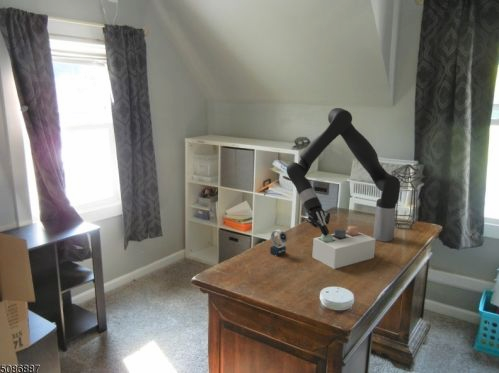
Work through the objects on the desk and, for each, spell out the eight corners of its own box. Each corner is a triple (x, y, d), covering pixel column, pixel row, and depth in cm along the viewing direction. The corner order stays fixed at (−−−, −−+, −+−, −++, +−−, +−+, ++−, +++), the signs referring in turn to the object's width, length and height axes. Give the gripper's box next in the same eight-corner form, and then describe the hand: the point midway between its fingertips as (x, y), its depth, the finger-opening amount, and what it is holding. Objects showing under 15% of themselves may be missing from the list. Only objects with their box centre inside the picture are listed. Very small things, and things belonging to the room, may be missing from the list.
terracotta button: (352, 233, 194) (353, 225, 193) (360, 236, 190) (361, 228, 189) (344, 234, 191) (345, 226, 190) (352, 238, 187) (353, 229, 186)
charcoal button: (339, 235, 190) (340, 227, 189) (347, 239, 185) (348, 231, 184) (331, 237, 187) (332, 229, 186) (339, 241, 183) (340, 232, 182)
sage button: (326, 241, 186) (327, 233, 185) (334, 245, 182) (334, 236, 181) (318, 243, 183) (318, 234, 182) (325, 247, 179) (326, 238, 178)
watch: (280, 257, 184) (281, 234, 181) (267, 252, 190) (268, 229, 187) (288, 254, 188) (289, 231, 185) (275, 249, 193) (276, 226, 191)
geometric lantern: (389, 229, 224) (394, 165, 217) (386, 221, 239) (391, 161, 232) (420, 231, 221) (426, 167, 214) (415, 223, 236) (421, 162, 229)
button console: (351, 247, 198) (352, 229, 195) (373, 257, 186) (375, 239, 184) (312, 257, 185) (313, 238, 183) (333, 268, 174) (335, 248, 172)
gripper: (302, 198, 182) (319, 233, 175) (325, 194, 189) (342, 228, 182) (294, 206, 188) (310, 240, 181) (317, 203, 195) (333, 235, 188)
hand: (326, 234), depth 181 cm, fingers closed
